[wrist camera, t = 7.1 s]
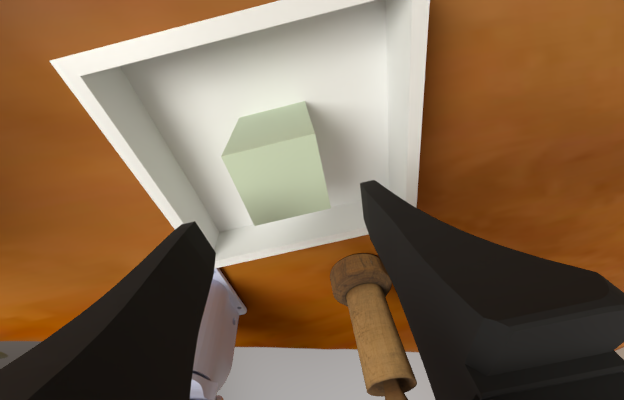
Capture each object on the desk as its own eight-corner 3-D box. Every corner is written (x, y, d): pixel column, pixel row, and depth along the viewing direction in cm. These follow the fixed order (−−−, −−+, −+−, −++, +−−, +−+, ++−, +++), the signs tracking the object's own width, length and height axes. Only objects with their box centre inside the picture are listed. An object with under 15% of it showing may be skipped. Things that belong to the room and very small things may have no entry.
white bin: (395, 194, 22) (415, 223, 19) (216, 235, 23) (205, 270, 19) (395, -24, 13) (432, -40, 10) (103, 52, 14) (49, 61, 11)
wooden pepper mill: (319, 267, 27) (364, 551, 12) (373, 244, 26) (495, 530, 11) (343, 295, 31) (400, 540, 16) (392, 276, 29) (501, 524, 15)
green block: (318, 161, 19) (331, 208, 14) (261, 174, 19) (254, 226, 14) (304, 101, 16) (315, 133, 11) (239, 117, 16) (221, 156, 11)
